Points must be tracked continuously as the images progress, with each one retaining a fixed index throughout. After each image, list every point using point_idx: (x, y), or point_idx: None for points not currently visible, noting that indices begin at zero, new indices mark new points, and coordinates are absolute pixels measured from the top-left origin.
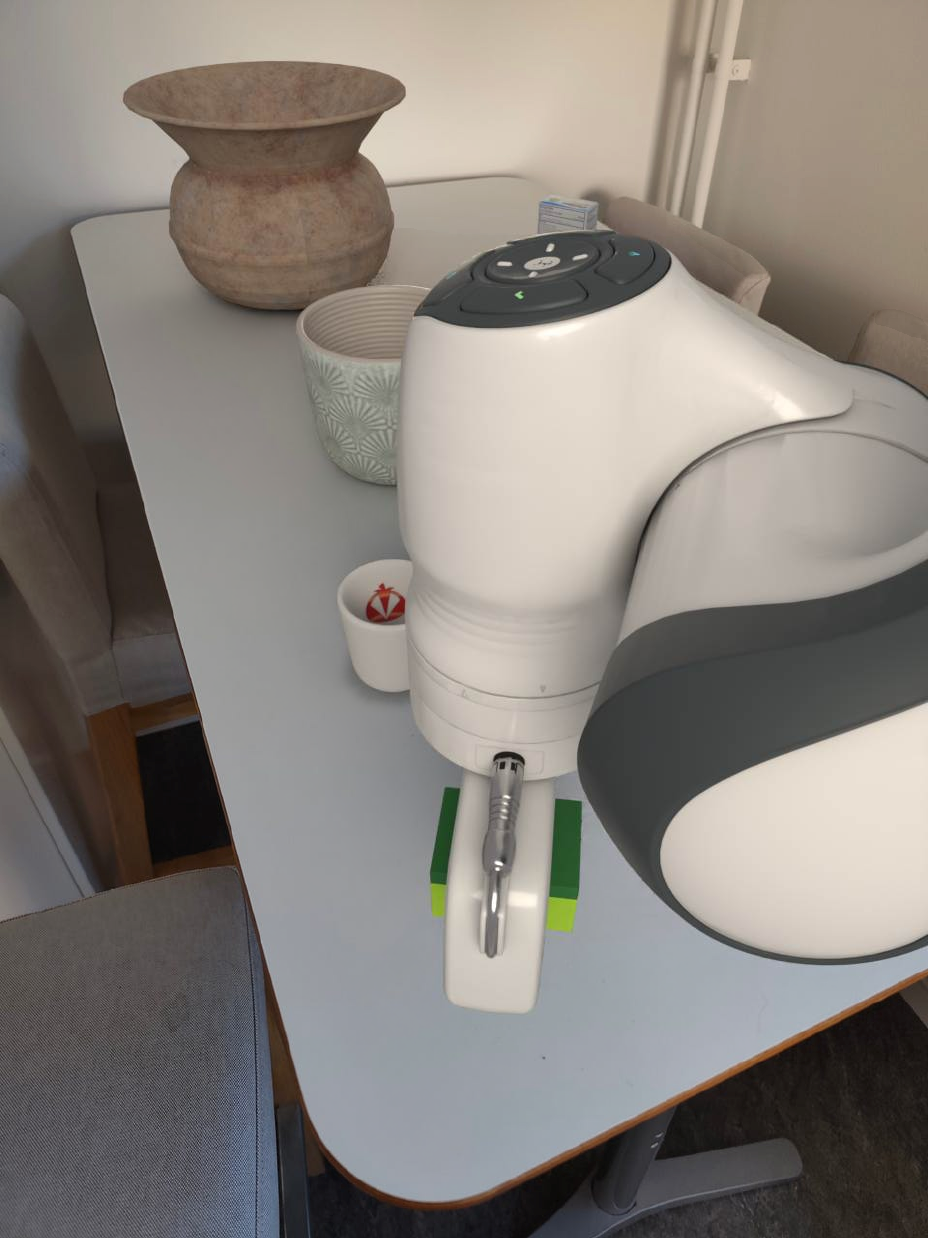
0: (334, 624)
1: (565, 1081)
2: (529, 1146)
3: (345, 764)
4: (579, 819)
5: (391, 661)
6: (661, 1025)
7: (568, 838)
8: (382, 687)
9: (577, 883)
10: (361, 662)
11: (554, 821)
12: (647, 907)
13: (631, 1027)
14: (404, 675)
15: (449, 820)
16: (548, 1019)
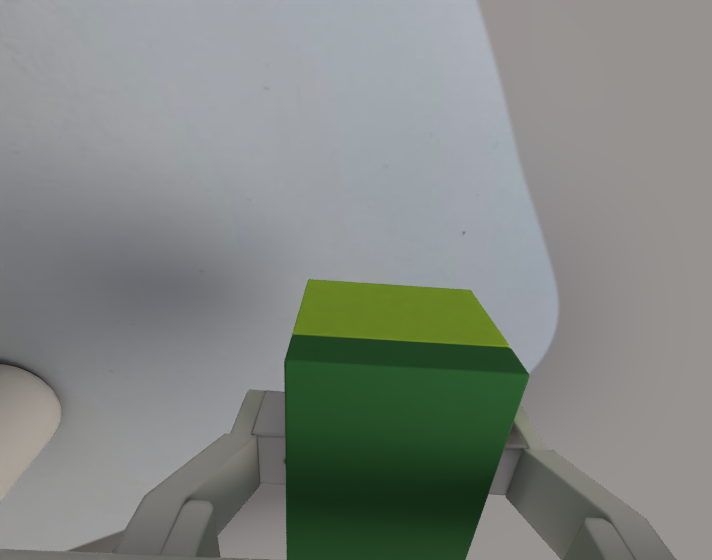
0: None
1: (487, 212)
2: (538, 246)
3: (171, 422)
4: (342, 370)
5: (13, 449)
6: (437, 99)
7: (397, 392)
8: (56, 416)
9: (517, 379)
10: (30, 463)
11: (349, 413)
12: (287, 100)
13: (438, 137)
14: (28, 412)
15: (359, 556)
16: (427, 227)
